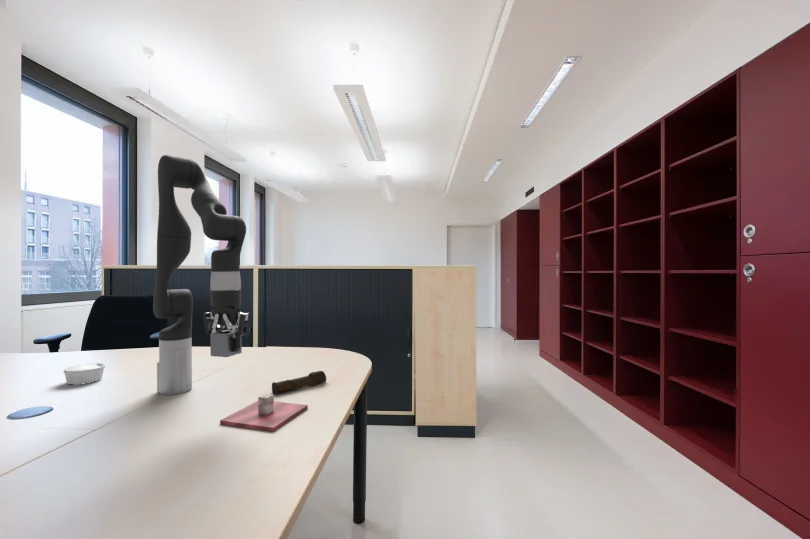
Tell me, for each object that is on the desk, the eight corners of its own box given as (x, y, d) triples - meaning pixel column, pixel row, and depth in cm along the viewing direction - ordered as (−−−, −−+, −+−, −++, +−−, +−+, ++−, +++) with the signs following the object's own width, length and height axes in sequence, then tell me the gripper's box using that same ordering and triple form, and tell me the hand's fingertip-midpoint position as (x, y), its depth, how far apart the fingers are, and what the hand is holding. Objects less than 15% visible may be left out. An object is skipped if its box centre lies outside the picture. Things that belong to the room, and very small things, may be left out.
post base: (220, 424, 100) (219, 403, 99) (260, 403, 115) (259, 384, 115) (273, 431, 95) (273, 409, 95) (307, 408, 110) (307, 389, 110)
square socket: (210, 356, 103) (210, 333, 103) (225, 351, 108) (225, 330, 108) (227, 357, 101) (226, 334, 101) (241, 352, 106) (241, 331, 106)
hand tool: (275, 396, 121) (275, 381, 121) (270, 393, 125) (270, 378, 124) (329, 385, 133) (329, 371, 133) (324, 382, 136) (324, 369, 136)
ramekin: (110, 380, 139) (110, 365, 139) (70, 388, 129) (70, 372, 129) (97, 375, 145) (97, 361, 145) (58, 383, 135) (58, 368, 135)
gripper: (193, 289, 103) (194, 352, 103) (237, 289, 99) (238, 355, 99) (215, 287, 110) (215, 347, 110) (257, 287, 106) (258, 349, 106)
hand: (226, 350), depth 104 cm, fingers closed on square socket, 5 cm apart
